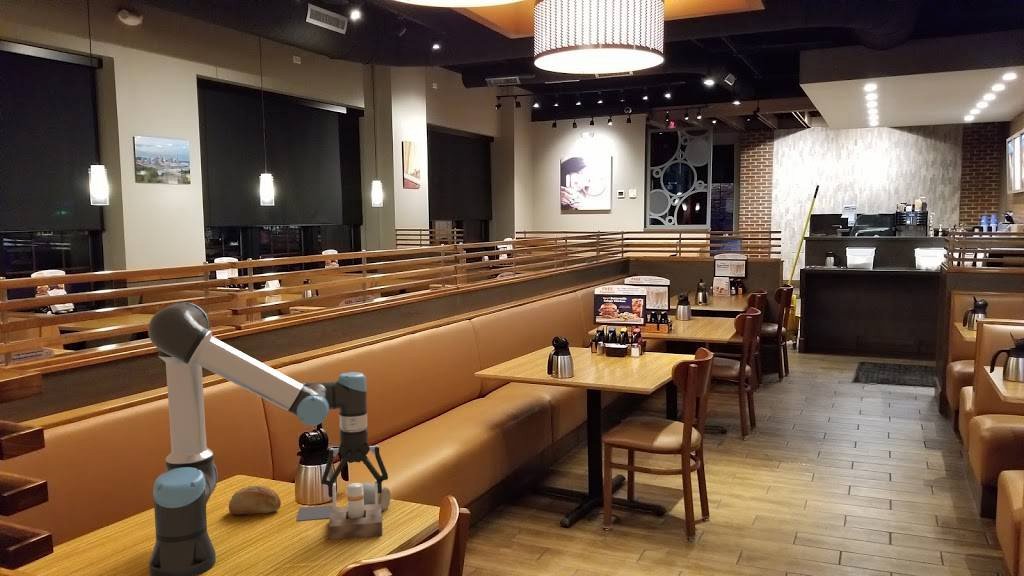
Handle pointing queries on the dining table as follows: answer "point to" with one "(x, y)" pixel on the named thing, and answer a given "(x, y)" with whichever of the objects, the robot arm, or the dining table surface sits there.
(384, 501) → the ceramic mug
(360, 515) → the white banded cylinder
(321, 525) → the dining table surface
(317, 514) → the mat
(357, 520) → the block
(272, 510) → the bread roll
